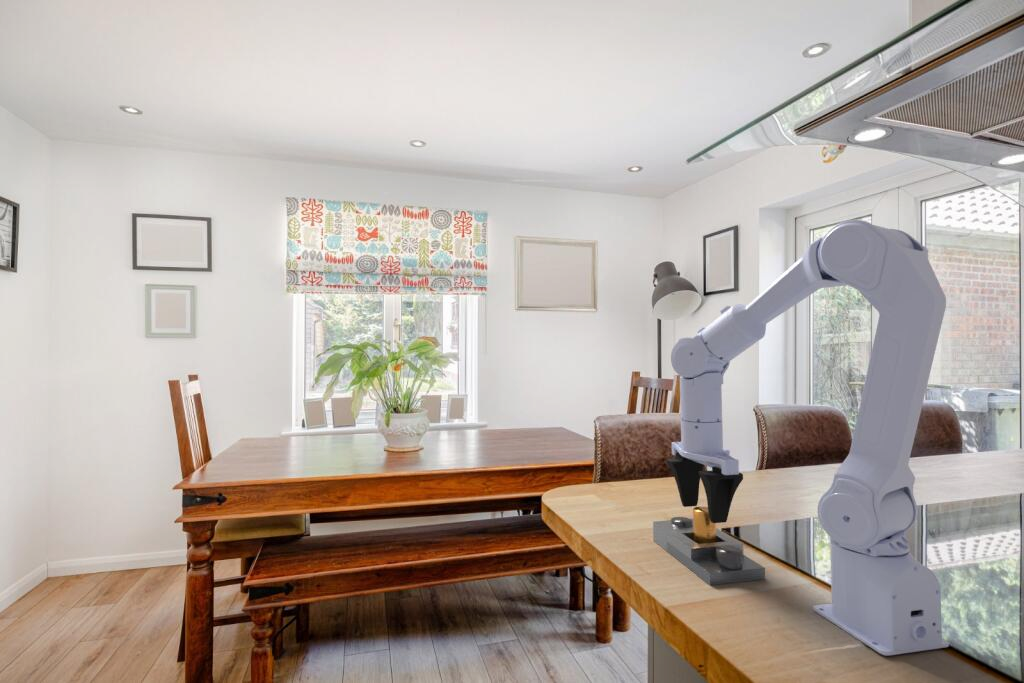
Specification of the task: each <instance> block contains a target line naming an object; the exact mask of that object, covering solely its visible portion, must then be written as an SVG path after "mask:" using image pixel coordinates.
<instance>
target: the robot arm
mask: <svg viewBox="0 0 1024 683" xmlns="http://www.w3.org/2000/svg"><path fill="white" fill-rule="evenodd" d="M844 286H849V287H850V288H852V289H855V290H856V291H857V292H859V293H860V294H861V296H863V298H864V299H865V300H867V302H868V303H869V304H870V305H871V306H873V308H874V309H875V310H876V311H877V312H878V315H879V316H878V321H877V325H876V329H875V330H876V331H875V334H874V338H873V344H872V348H871V353H870V358H869V363H868V365H867V366H868V367H867V372H866V376H865V381H864V384H863V389H862V392H861V393H862V394H861V399H860V402H859V408H858V413H857V417H856V422H855V426H854V429H853V430H854V431H853V435H852V439H851V445H850V449H849V453H848V455H847V456H846V457H845V459H844V460H843V461H842V463H841V464H840V465H839V467H838V468H837V470H836V471H835V473H834V475H833V479H832V482H831V485H830V487H829V488H828V490H827V491H826V492H825V493H824V494H822V496H821V497H820V499H819V501H818V503H817V517H818V519H819V520H818V521H819V523H820V525H821V527H822V529H823V530H824V531H825V533H826V534H827V535H828V536H829V543H830V544H829V547H830V585H831V586H830V589H831V591H830V592H831V595H830V596H831V603H825V604H817V605H813V606H812V609H813V612H814V613H815V612H816V613H817V614H819V615H820V616H822V617H823V618H824V619H826V620H827V621H829V622H830V623H832V624H834V625H836V626H837V627H839V628H840V629H842V630H843V631H844V632H846V633H848V634H849V635H851V636H852V637H854V638H856V640H858V641H860V642H861V643H863V644H864V645H866V646H868V647H870V648H871V649H873V650H874V651H875V652H876V653H879V654H880V655H882V656H886V657H887V656H896V655H903V654H909V653H910V654H911V653H916V652H922V651H930V650H937V649H942V648H943V649H944V648H948V647H950V645H949V641H948V640H946V639H944V638H943V634H942V630H943V629H942V600H941V599H942V595H941V585H940V582H939V579H938V578H937V576H936V574H935V572H933V571H932V569H930V568H929V567H928V566H926V565H923V564H922V563H921V562H919V561H918V560H917V559H916V558H915V557H914V556H913V554H912V553H911V551H910V544H909V540H908V537H907V534H906V531H908V530H910V529H911V528H912V527H913V526H914V524H915V523H916V521H917V518H918V510H919V509H918V505H917V502H916V500H915V496H914V484H915V480H916V478H915V475H914V473H913V471H912V470H911V468H910V465H909V462H910V458H911V454H912V450H913V446H914V442H915V436H916V433H917V429H918V424H919V420H920V417H921V413H922V408H923V404H924V400H925V396H926V391H927V387H928V382H929V379H930V375H931V370H932V367H933V362H934V358H935V354H936V350H937V344H938V341H939V337H940V332H941V328H942V324H943V320H944V317H945V312H946V308H947V297H946V294H945V293H944V290H943V288H942V286H941V284H940V281H939V279H938V278H937V276H936V273H935V272H934V269H933V267H932V265H931V262H930V261H929V250H928V248H926V246H924V245H923V244H922V243H920V242H919V241H918V240H916V239H915V238H914V237H913V236H911V235H910V234H909V233H907V232H905V231H902V230H900V229H895V228H886V227H884V226H880V225H875V224H872V223H871V222H869V221H865V220H862V219H850V220H845V221H842V222H840V223H837V224H836V225H834V226H832V227H831V228H830V229H829V230H828V231H827V232H826V233H825V234H824V236H823V237H819V238H817V239H815V240H814V241H813V242H811V243H810V244H809V245H808V246H807V249H805V251H804V253H803V255H802V256H801V257H800V258H799V259H797V260H796V261H795V262H794V263H793V264H792V265H791V266H790V267H788V269H786V270H785V271H784V272H783V273H782V274H781V275H780V276H778V277H777V278H776V279H775V280H774V281H773V282H772V283H771V284H770V285H768V287H766V288H765V289H764V290H763V291H762V292H761V293H759V294H758V295H757V296H756V297H755V298H753V300H752V301H750V302H749V303H748V304H741V303H736V304H733V305H732V306H730V305H726V306H724V307H723V308H721V310H720V311H719V312H720V313H721V315H719V316H717V318H716V319H715V320H713V321H712V322H711V323H710V324H708V325H707V326H706V327H700V328H699V329H698V330H697V334H696V335H695V336H694V337H693V336H685V337H681V338H679V339H678V341H677V342H676V343H675V345H674V346H673V348H672V350H671V354H670V362H671V363H670V364H671V366H672V368H673V370H674V372H675V373H676V374H678V376H679V393H680V394H679V397H680V398H679V399H680V400H679V401H680V402H679V403H680V437H681V438H680V439H681V440H680V441H673V442H671V455H673V456H674V458H673V457H672V458H667V459H666V464H667V466H668V467H669V469H670V471H671V473H672V475H673V477H674V479H675V483H676V486H677V490H678V494H679V497H680V501H681V504H682V507H684V508H688V507H690V508H691V507H698V503H699V493H700V492H699V491H700V482H702V484H703V485H702V486H703V488H704V492H705V496H706V500H707V501H706V502H707V507H708V513H709V518H710V521H711V522H712V523H716V524H720V523H722V524H724V523H727V522H728V518H729V513H730V508H731V505H732V503H733V502H732V501H733V500H734V496H735V493H736V491H737V489H738V488H739V486H740V484H741V483H742V481H743V480H744V473H742V472H740V469H739V468H740V467H739V466H740V465H739V461H740V460H739V459H737V458H734V457H732V456H731V454H730V452H731V451H730V449H728V448H726V447H725V448H724V444H723V443H724V442H723V441H724V439H723V438H724V435H723V433H724V432H723V401H722V400H723V399H722V392H723V391H722V385H724V375H725V373H726V372H727V370H728V369H729V366H730V364H731V361H732V360H734V359H735V358H737V357H738V356H739V355H741V354H742V353H743V352H745V351H746V350H748V349H749V348H750V347H753V345H755V344H756V343H758V342H759V341H760V340H762V339H763V338H764V337H765V335H766V330H767V329H766V328H767V324H769V323H770V322H771V321H773V320H774V319H776V318H778V317H779V316H780V315H782V314H783V313H785V312H786V311H788V310H789V309H791V308H792V307H794V306H796V305H797V304H799V303H800V302H801V301H803V300H805V299H806V298H808V297H810V296H811V295H813V294H814V293H816V292H817V291H818V290H821V289H823V288H824V289H825V288H834V287H844ZM705 466H707V467H708V468H711V470H704V467H705Z"/></svg>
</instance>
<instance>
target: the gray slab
mask: <svg viewBox="0 0 1024 683" xmlns="http://www.w3.org/2000/svg"><path fill="white" fill-rule="evenodd" d="M652 532H653V534H652V535H653V536H652V537H653V540H652V541H653V542H655V543H656V544H657V545H658V546H660V547H661V548H662V549H663V550H665V551H666V552H667V553H669V554H670V555H671V556H672V557H673V558H674V559H676V560H677V561H678V562H680V563H681V564H682V565H683V566H685V567H686V568H687V569H689V570H690V571H691V572H692V573H694V574H696V576H698V577H699V578H700V579H702V580H703V581H704V582H705V583H707V584H708V585H709V586H716V585H725V584H731V583H732V584H735V583H742V582H743V583H744V582H750V581H751V582H752V581H761V580H762V581H763V580H766V568H765V566H763V565H761V564H760V563H758V562H756V561H754V560H753V559H751V558H750V557H748V556H747V555H745V554H744V543H743V542H741V541H739V540H737V539H736V538H734V537H733V536H730V535H729V534H727V533H726V532H724V531H722V530H720V529H719V528H717V527H716V543H705V544H697V543H696V542H694V517H693V518H689V517H684V516H675V517H672V518H670V520H667V519H666V520H656V521H655V520H654V521H652Z"/></svg>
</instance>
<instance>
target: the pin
mask: <svg viewBox="0 0 1024 683" xmlns="http://www.w3.org/2000/svg"><path fill="white" fill-rule="evenodd" d="M692 516H693V518H694V542H696V543H697V544H705V543H716V528H717V527H716V525H717V523H712V522H711V521H710V518H709V513H708V506H694V508H693V515H692Z"/></svg>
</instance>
